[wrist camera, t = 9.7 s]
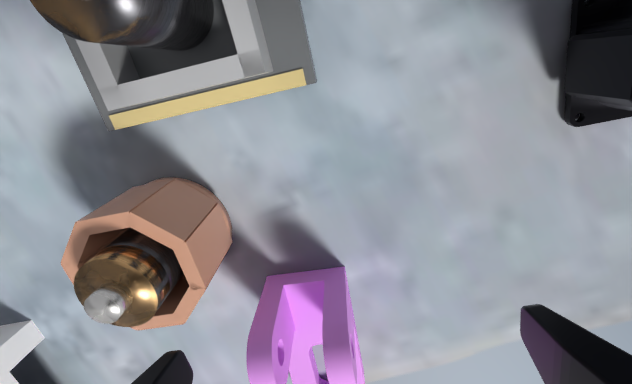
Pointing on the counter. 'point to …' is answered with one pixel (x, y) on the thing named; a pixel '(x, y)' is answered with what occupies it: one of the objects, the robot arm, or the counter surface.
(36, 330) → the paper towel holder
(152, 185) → the cup
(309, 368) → the bracket
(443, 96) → the counter surface
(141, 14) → the cell
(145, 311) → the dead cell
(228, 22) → the cradle
